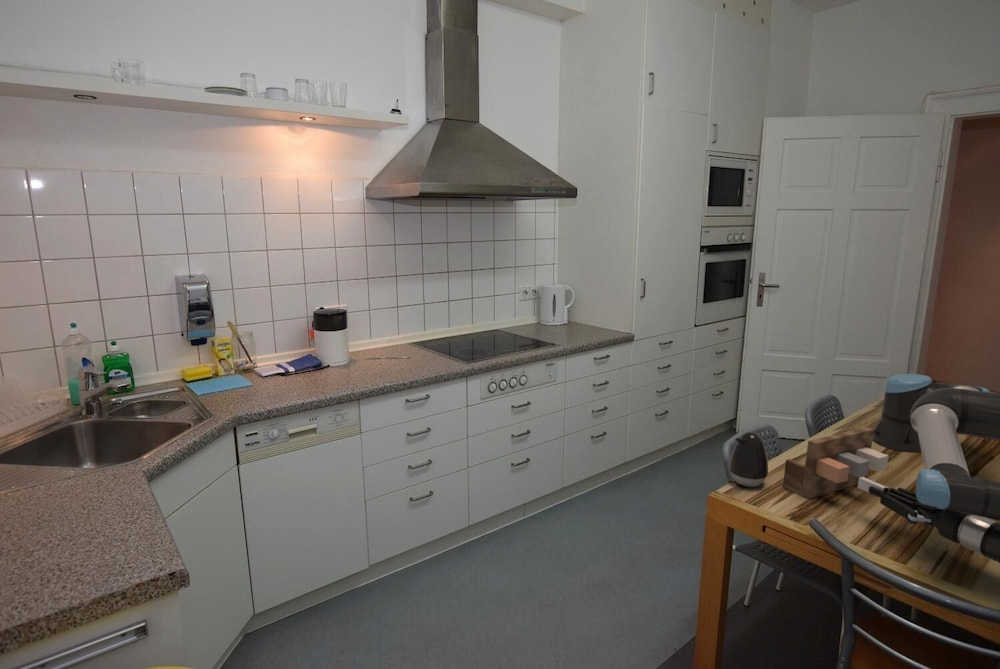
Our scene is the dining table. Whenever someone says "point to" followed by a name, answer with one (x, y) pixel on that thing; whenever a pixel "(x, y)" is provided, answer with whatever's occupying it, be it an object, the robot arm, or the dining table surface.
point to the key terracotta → (832, 469)
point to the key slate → (854, 463)
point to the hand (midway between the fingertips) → (860, 482)
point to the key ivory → (873, 458)
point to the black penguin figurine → (749, 460)
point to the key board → (804, 476)
